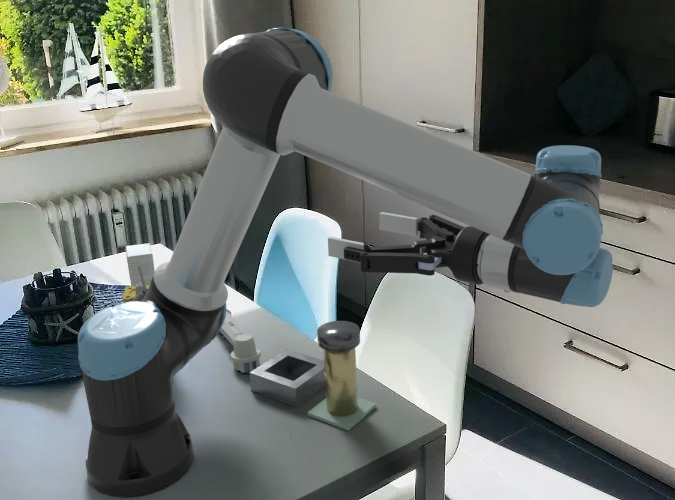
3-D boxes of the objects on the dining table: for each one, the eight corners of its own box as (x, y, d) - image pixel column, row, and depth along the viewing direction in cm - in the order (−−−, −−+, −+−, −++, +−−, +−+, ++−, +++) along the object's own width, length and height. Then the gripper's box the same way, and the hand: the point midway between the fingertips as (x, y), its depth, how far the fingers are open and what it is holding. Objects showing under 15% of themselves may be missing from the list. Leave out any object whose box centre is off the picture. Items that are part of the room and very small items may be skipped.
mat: (348, 430, 111) (348, 427, 111) (307, 415, 116) (307, 412, 116) (376, 406, 117) (376, 403, 117) (336, 393, 122) (336, 390, 122)
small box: (131, 287, 170) (125, 245, 167) (155, 284, 172) (150, 242, 168) (132, 300, 163) (126, 256, 159) (158, 296, 164) (152, 253, 161)
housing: (296, 407, 118) (295, 388, 117) (251, 390, 124) (249, 372, 123) (332, 380, 126) (331, 363, 125) (287, 366, 131) (286, 349, 130)
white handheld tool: (228, 301, 151) (261, 334, 128) (231, 331, 152) (265, 369, 130) (203, 306, 149) (232, 340, 126) (207, 336, 151) (237, 375, 128)
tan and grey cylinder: (347, 424, 112) (343, 343, 107) (313, 411, 116) (308, 333, 111) (370, 404, 117) (367, 326, 112) (337, 393, 121) (333, 317, 116)
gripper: (444, 318, 88) (306, 283, 100) (522, 256, 107) (399, 233, 119) (445, 260, 85) (303, 232, 97) (525, 207, 104) (399, 189, 116)
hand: (356, 232), depth 108 cm, fingers open, 13 cm apart
